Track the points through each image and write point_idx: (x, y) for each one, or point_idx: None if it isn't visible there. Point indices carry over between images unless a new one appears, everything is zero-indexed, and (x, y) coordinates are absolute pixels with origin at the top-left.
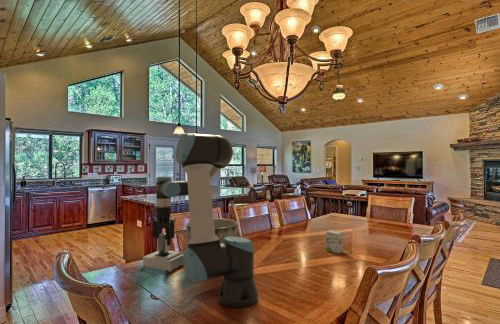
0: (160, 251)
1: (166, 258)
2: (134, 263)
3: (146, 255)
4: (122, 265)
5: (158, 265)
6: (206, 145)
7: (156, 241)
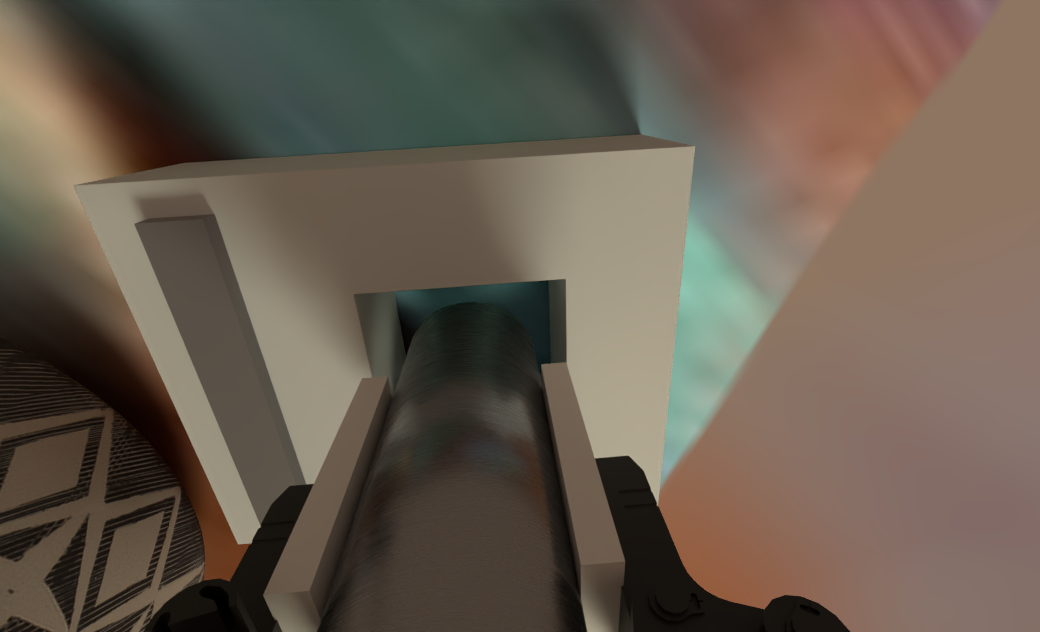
0: (462, 350)
1: (197, 218)
2: (824, 178)
3: (684, 227)
4: (945, 41)
5: (373, 156)
6: None
7: (644, 500)
